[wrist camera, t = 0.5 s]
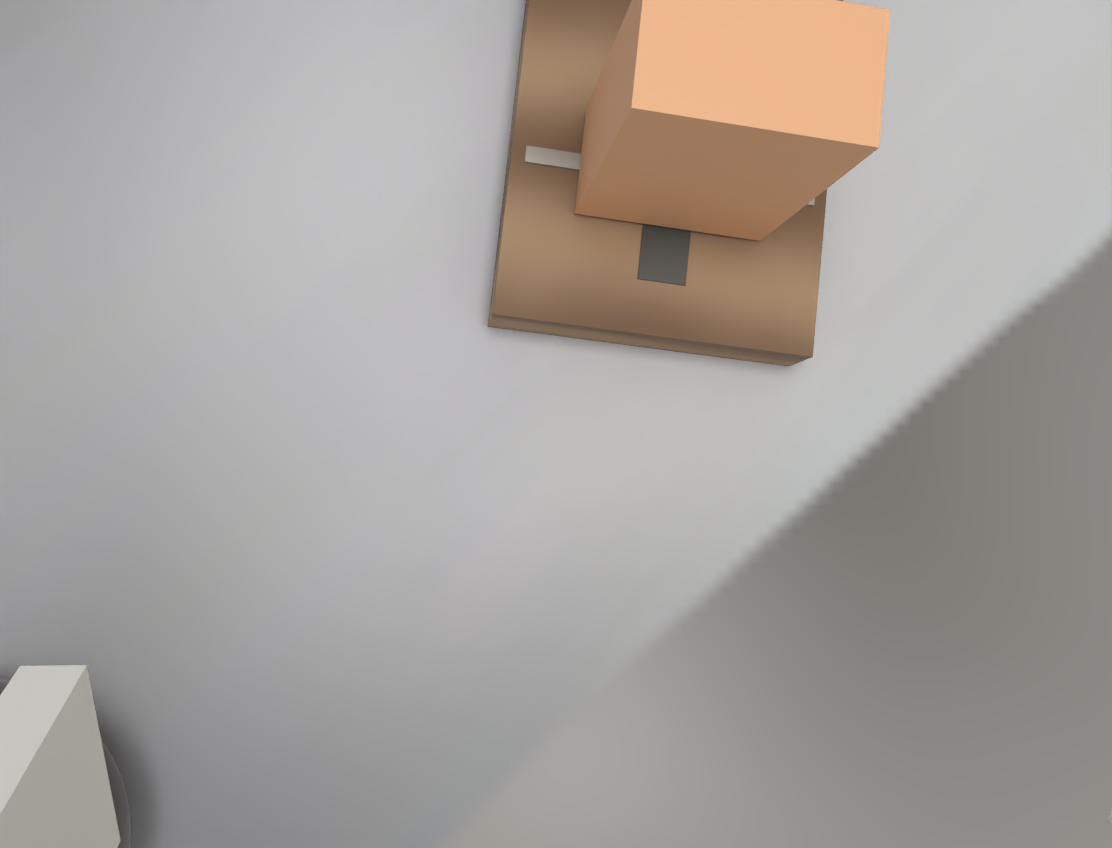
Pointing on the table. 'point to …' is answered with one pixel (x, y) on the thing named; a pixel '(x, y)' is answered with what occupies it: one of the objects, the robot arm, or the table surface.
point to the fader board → (630, 229)
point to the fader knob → (731, 111)
